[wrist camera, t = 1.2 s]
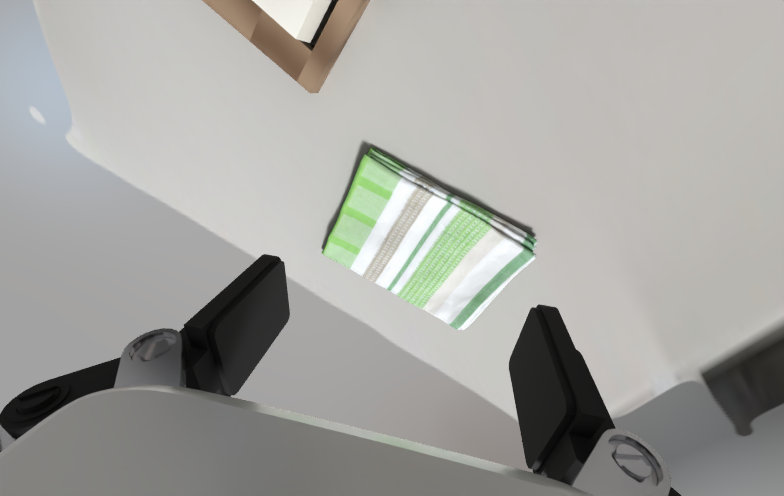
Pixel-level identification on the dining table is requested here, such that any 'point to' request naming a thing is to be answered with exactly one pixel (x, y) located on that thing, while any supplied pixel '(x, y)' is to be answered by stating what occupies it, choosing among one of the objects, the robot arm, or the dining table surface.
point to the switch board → (284, 48)
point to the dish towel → (425, 241)
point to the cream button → (296, 15)
